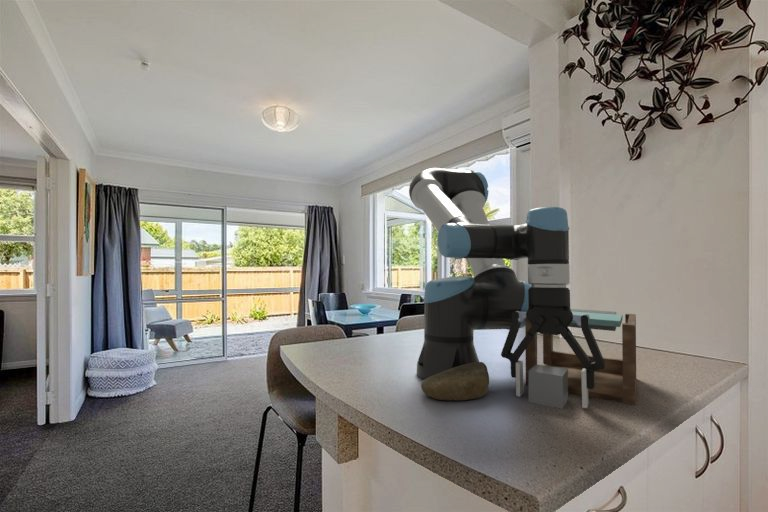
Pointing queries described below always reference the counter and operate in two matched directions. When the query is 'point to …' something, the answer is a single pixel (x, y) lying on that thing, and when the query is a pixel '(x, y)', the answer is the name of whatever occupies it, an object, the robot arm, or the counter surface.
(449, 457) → the counter surface
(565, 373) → the gray cube
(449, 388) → the stone
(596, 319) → the trapdoor
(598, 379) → the frame
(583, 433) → the counter surface
